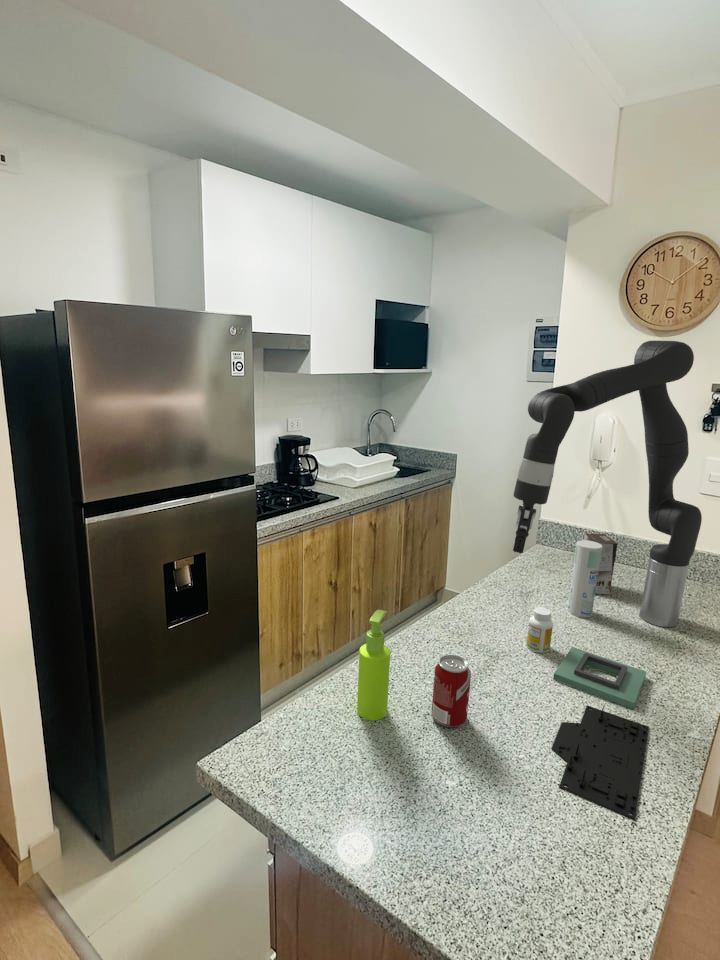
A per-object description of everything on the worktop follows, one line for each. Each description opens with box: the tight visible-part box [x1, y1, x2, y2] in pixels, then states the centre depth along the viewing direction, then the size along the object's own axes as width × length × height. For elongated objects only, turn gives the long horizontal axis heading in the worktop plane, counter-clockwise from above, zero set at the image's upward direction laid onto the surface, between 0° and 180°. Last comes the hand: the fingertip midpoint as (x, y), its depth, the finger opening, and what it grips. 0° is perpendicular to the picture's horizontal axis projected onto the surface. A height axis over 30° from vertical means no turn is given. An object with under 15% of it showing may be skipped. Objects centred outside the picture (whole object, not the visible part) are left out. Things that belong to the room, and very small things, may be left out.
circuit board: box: [551, 705, 650, 821], centre depth 95 cm, size 25×14×3 cm, turn 148°
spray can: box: [567, 539, 602, 619], centre depth 146 cm, size 6×6×20 cm
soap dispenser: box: [356, 609, 391, 721], centre depth 103 cm, size 6×7×20 cm
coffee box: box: [583, 533, 618, 595], centre depth 163 cm, size 9×6×16 cm
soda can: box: [431, 654, 472, 728], centre depth 102 cm, size 7×7×12 cm
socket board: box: [552, 646, 647, 710], centre depth 117 cm, size 14×16×2 cm
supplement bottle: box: [526, 606, 554, 654], centre depth 128 cm, size 5×5×10 cm
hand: (518, 547), depth 125 cm, fingers open, 8 cm apart
